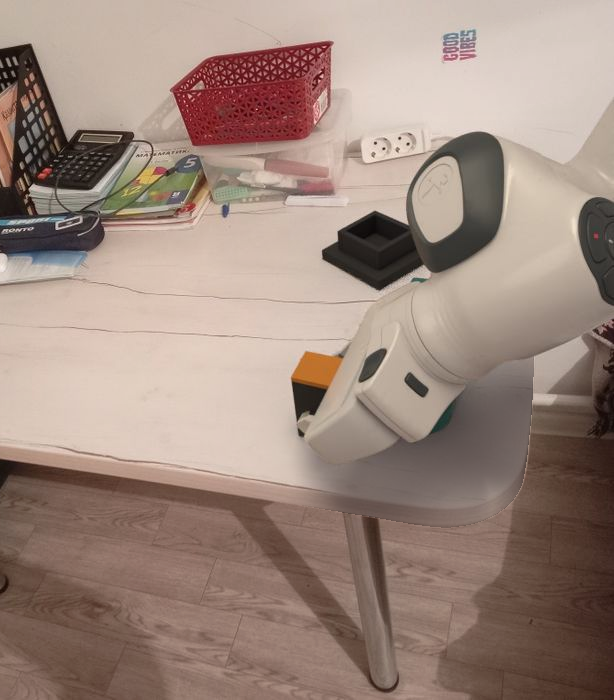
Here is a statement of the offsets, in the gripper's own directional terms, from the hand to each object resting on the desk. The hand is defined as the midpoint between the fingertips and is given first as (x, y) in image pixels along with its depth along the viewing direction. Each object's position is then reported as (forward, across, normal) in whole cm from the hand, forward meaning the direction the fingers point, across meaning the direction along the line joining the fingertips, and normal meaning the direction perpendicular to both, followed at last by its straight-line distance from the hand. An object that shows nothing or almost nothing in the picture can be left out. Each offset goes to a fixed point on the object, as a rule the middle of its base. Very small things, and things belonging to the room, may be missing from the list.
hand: (319, 394), depth 64 cm
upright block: (+3, 0, +4) cm, 5 cm away
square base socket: (+6, -31, +1) cm, 32 cm away
